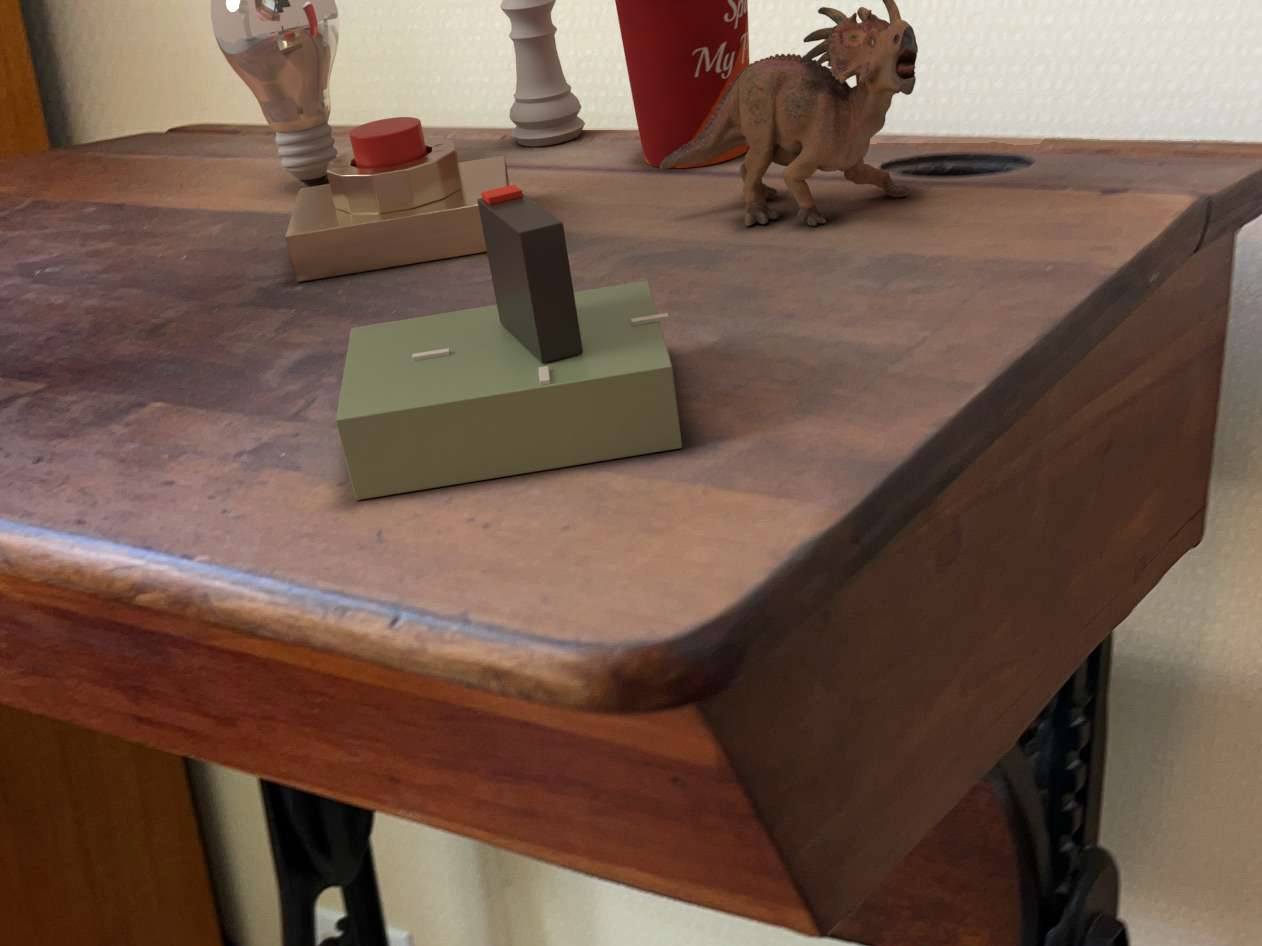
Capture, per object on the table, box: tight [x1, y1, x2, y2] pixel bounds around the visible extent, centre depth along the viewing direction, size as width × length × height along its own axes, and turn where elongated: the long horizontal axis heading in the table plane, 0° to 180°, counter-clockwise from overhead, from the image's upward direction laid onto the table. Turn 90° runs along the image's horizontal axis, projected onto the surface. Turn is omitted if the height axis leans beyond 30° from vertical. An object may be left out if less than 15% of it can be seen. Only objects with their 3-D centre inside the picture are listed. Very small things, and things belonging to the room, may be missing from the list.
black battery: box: [477, 184, 583, 363], centre depth 60 cm, size 6×2×5 cm, turn 21°
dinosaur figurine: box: [659, 0, 919, 227], centre depth 77 cm, size 14×6×9 cm, turn 63°
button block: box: [284, 136, 511, 283], centre depth 84 cm, size 11×9×4 cm
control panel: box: [335, 280, 683, 501], centre depth 62 cm, size 12×10×3 cm
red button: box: [348, 116, 427, 168], centre depth 82 cm, size 4×4×2 cm
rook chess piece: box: [499, 0, 586, 147], centre depth 95 cm, size 4×4×8 cm
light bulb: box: [210, 0, 341, 186], centre depth 93 cm, size 7×7×12 cm
